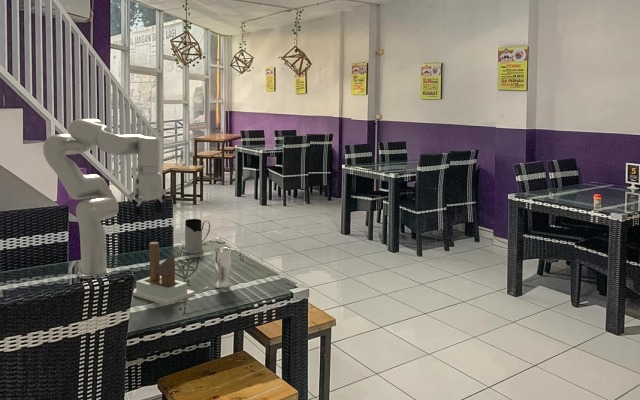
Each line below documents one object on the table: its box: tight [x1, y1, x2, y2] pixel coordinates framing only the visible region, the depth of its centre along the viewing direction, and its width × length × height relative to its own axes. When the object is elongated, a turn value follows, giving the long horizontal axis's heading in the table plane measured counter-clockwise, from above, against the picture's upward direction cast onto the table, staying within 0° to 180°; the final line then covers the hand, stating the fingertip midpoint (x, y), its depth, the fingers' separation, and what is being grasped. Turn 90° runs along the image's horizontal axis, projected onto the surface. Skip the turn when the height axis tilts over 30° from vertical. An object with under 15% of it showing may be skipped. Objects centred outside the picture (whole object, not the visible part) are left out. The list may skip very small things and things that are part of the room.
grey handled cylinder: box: [184, 218, 211, 254], centre depth 264 cm, size 9×14×15 cm, turn 140°
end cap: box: [132, 275, 196, 306], centre depth 204 cm, size 20×14×5 cm
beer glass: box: [212, 246, 232, 289], centre depth 214 cm, size 7×7×15 cm
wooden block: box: [148, 241, 176, 288], centre depth 203 cm, size 4×11×18 cm, turn 60°
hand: (147, 214), depth 209 cm, fingers open, 9 cm apart
